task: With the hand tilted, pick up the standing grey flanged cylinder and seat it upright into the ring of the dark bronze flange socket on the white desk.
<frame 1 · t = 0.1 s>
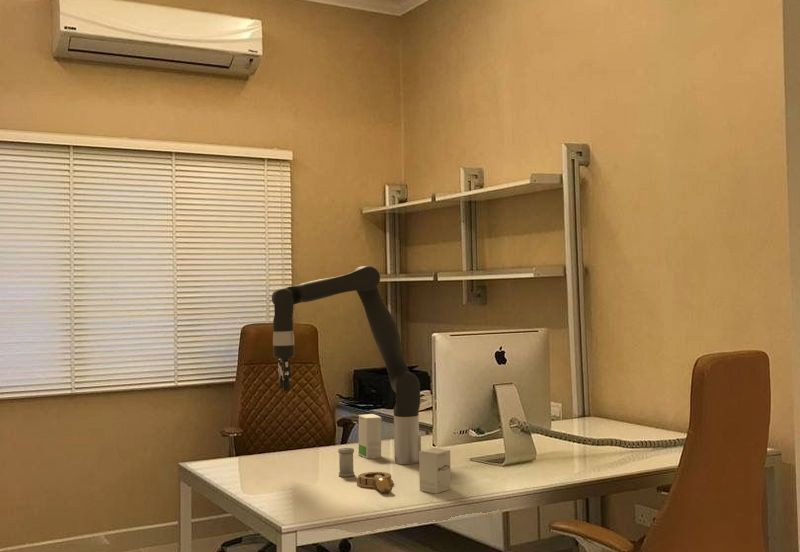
hand: (284, 389, 299), 29 cm above the table, tool pointing down, fingers open, 8 cm apart
flange socket: (374, 483, 277), on the table
supplement box: (435, 490, 267), on the table
skincare box: (370, 456, 323), on the table
grey flanged cylinder: (346, 475, 290), on the table
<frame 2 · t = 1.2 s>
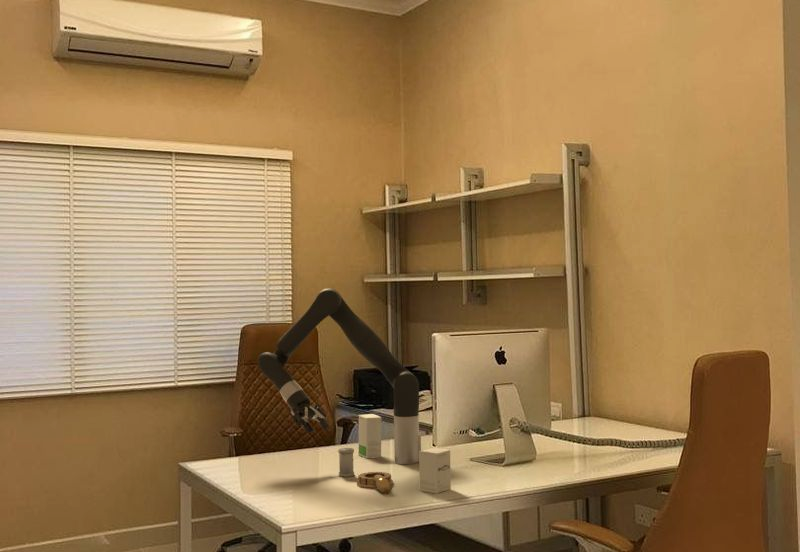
hand: (319, 430, 297), 15 cm above the table, tool tilted 45°, fingers open, 8 cm apart
nothing on the table moved.
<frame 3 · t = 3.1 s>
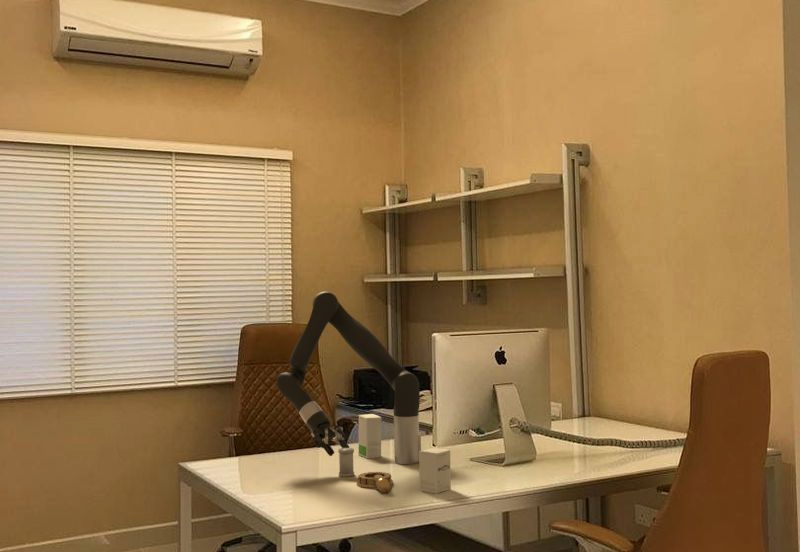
hand: (340, 452, 292), 8 cm above the table, tool tilted 45°, fingers open, 8 cm apart
nothing on the table moved.
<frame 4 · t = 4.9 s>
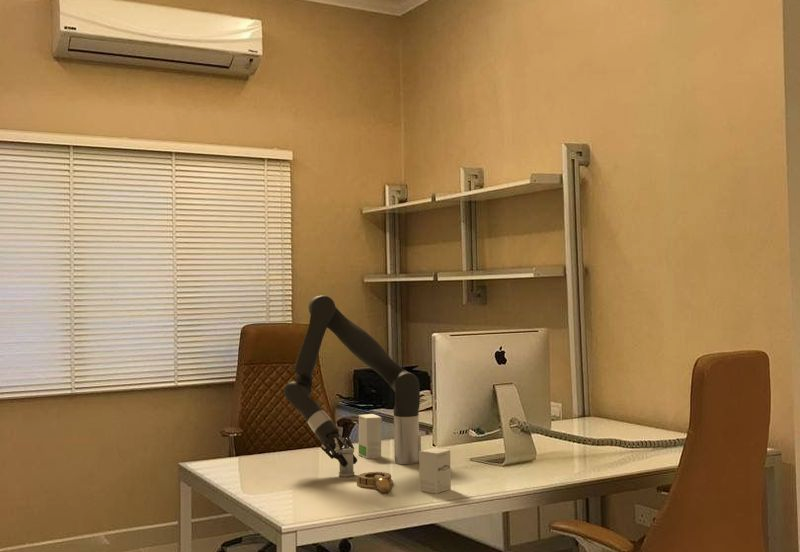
hand: (350, 463, 289), 4 cm above the table, tool tilted 45°, fingers closed on grey flanged cylinder, 4 cm apart
grey flanged cylinder: (346, 475, 290), on the table, touching gripper
everything else where it was.
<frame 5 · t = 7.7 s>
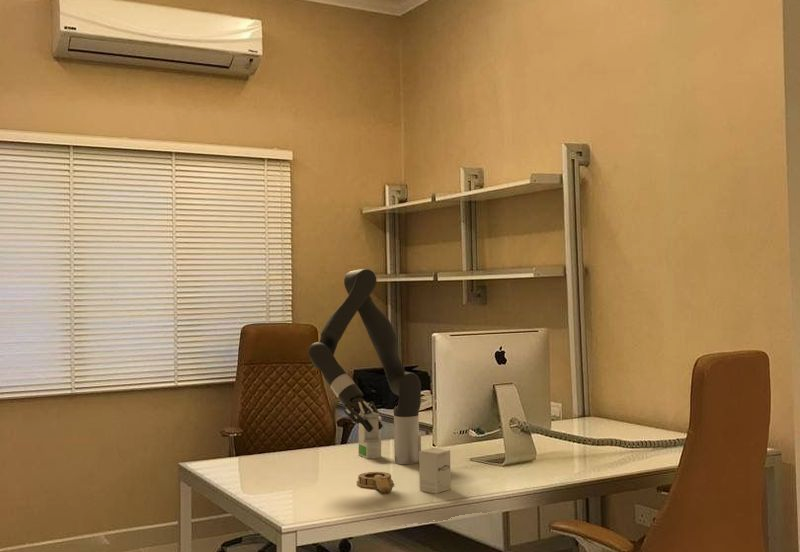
hand: (375, 429, 276), 18 cm above the table, tool tilted 45°, fingers closed on grey flanged cylinder, 4 cm apart
grey flanged cylinder: (371, 441, 277), point 14 cm above the table, touching gripper
everything else where it was.
when the fingers open (7 cm above the table, at t = 10.4 s): grey flanged cylinder drops 2 cm, resting on flange socket.
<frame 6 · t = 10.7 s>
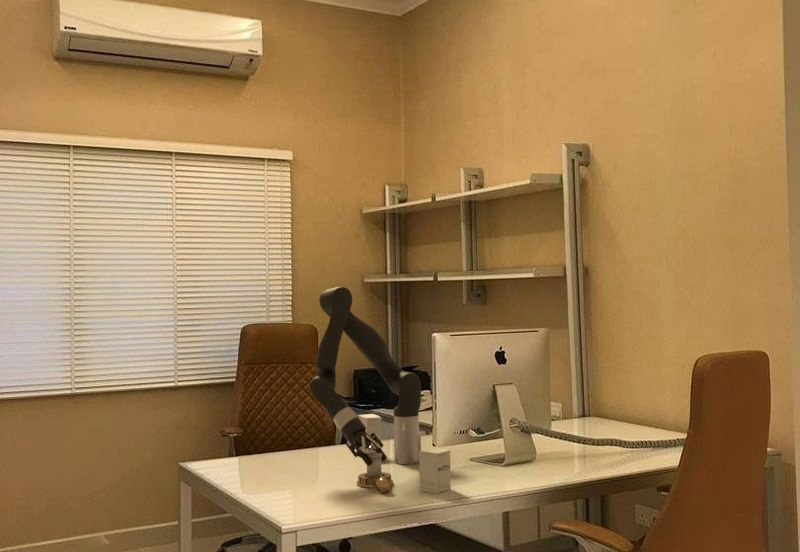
hand: (378, 461, 276), 7 cm above the table, tool tilted 45°, fingers open, 7 cm apart
grey flanged cylinder: (374, 481, 276), point 1 cm above the table, touching flange socket
everything else where it was.
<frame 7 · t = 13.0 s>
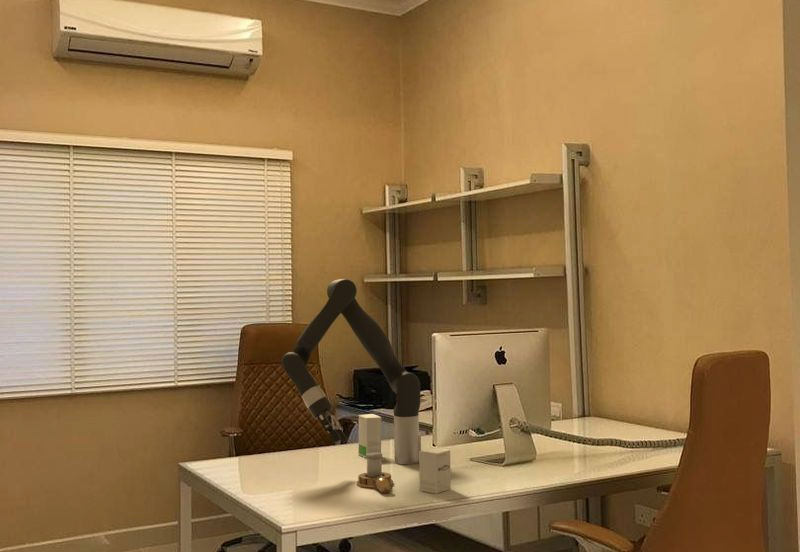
hand: (341, 441, 286), 13 cm above the table, tool tilted 40°, fingers open, 8 cm apart
nothing on the table moved.
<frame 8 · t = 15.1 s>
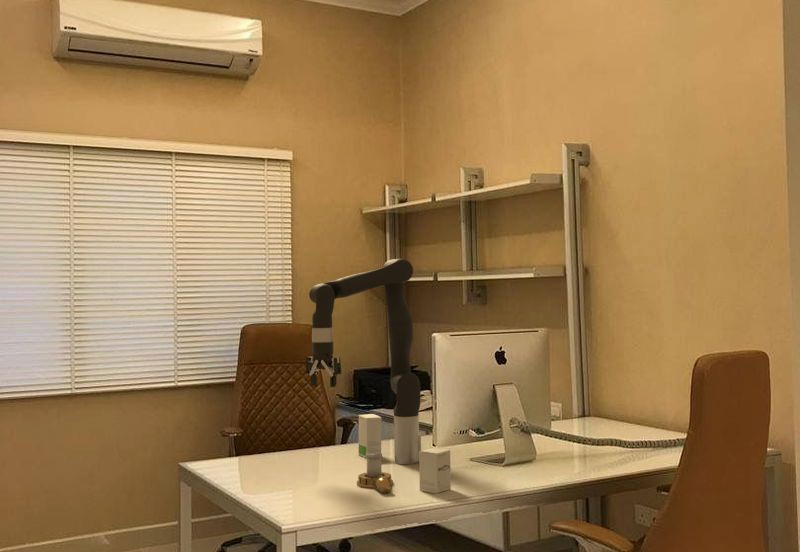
hand: (323, 386, 297), 30 cm above the table, tool pointing down, fingers open, 8 cm apart
nothing on the table moved.
at the end: grey flanged cylinder 0.3 cm off-centre on the flange socket, point 0.8 cm above the flange socket's base; grey flanged cylinder tilted 1°; the gripper is holding nothing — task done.
